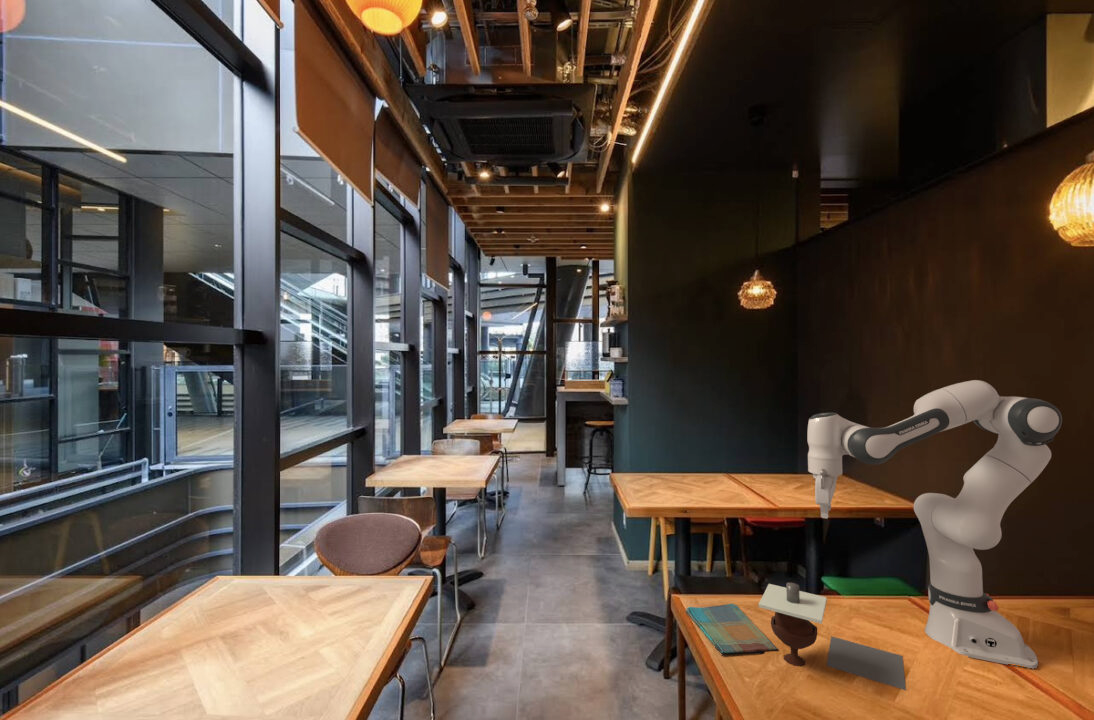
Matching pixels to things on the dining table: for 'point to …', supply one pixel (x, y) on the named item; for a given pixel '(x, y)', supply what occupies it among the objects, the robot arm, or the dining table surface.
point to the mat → (867, 662)
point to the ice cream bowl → (794, 635)
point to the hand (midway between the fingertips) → (826, 513)
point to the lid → (794, 602)
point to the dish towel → (730, 630)
